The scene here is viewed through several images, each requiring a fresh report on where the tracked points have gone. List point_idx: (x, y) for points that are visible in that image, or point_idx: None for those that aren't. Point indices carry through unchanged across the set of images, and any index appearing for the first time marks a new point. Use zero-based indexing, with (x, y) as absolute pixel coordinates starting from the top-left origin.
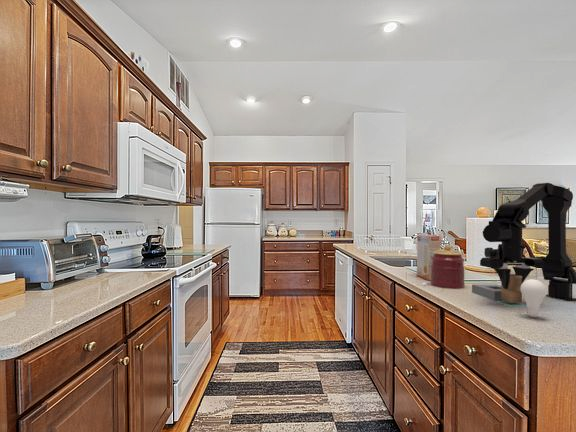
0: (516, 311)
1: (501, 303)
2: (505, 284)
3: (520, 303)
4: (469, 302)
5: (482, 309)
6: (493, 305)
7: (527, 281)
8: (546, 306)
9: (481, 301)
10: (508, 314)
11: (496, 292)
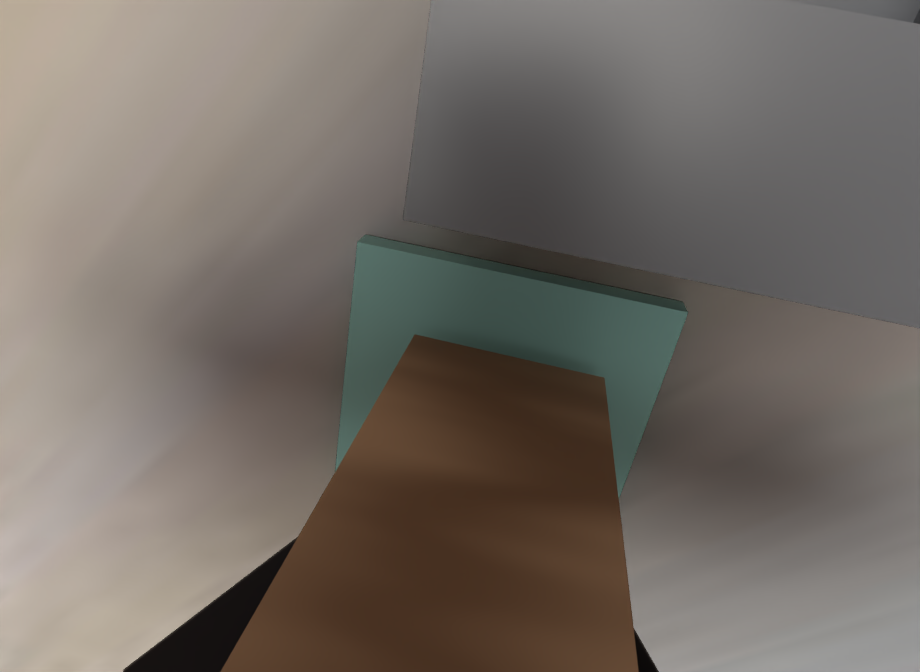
0: None
1: (350, 378)
2: None
3: (620, 453)
4: (16, 120)
5: (13, 420)
6: (251, 338)
7: None
8: (915, 563)
9: (237, 112)
10: (160, 591)
11: (445, 224)
